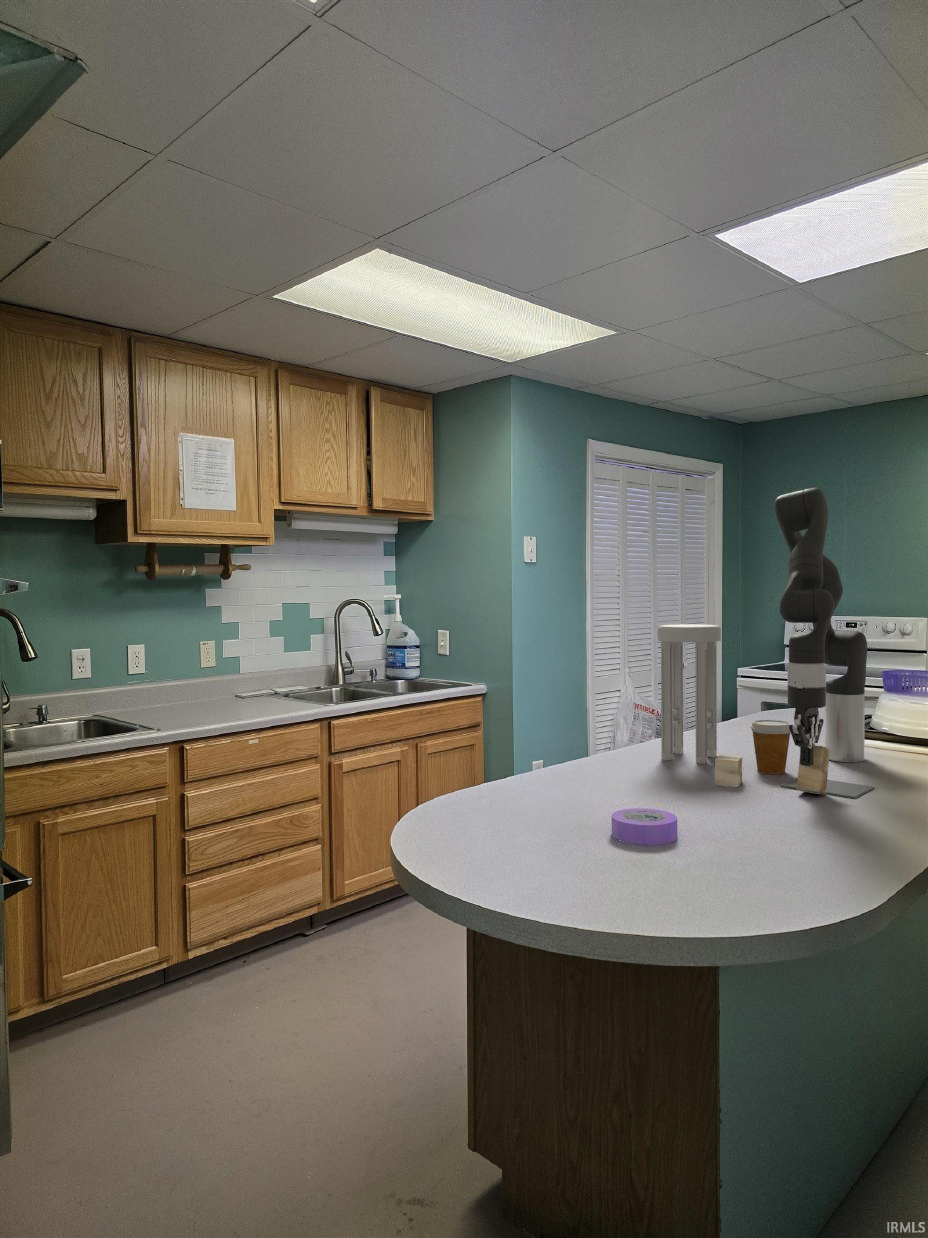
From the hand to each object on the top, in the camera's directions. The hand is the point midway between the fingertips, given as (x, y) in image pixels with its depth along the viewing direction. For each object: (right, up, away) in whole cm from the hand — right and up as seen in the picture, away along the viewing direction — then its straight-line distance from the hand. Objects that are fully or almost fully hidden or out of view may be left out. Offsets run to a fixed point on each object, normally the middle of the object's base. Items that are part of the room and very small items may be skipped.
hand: (806, 765), depth 173 cm
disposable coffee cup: (+2, -6, +25) cm, 26 cm away
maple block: (-12, -7, +13) cm, 19 cm away
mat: (+8, -7, +8) cm, 13 cm away
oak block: (+2, -6, +2) cm, 7 cm away
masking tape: (-40, -9, -25) cm, 48 cm away
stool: (-13, -6, +42) cm, 45 cm away
